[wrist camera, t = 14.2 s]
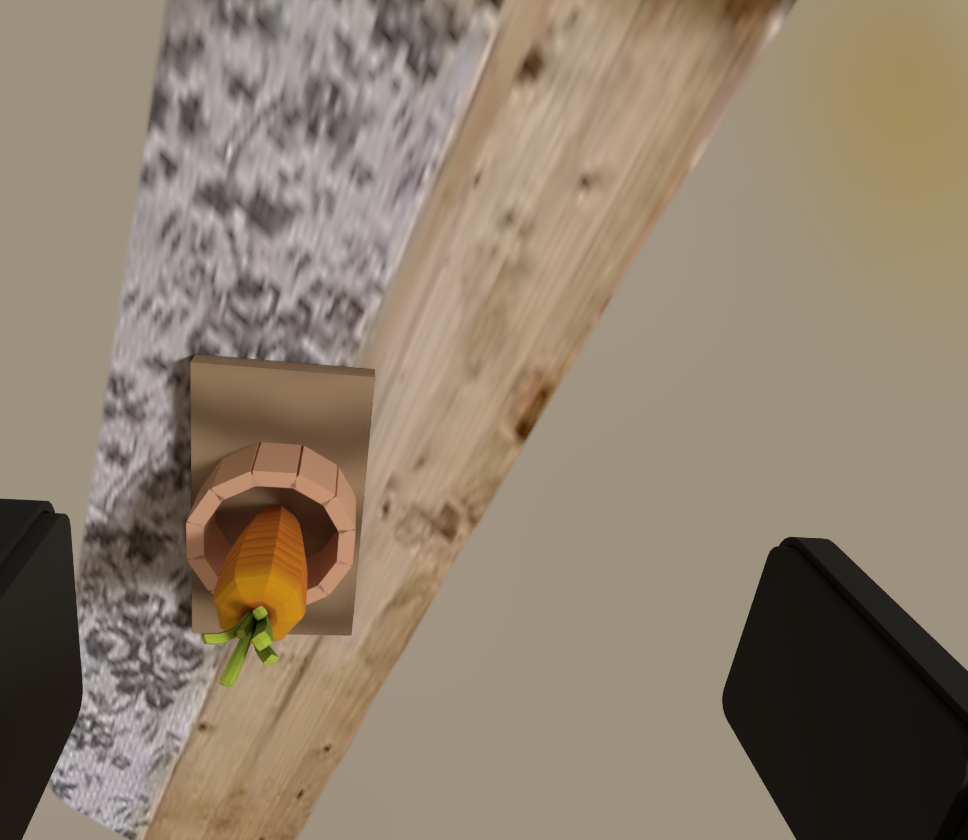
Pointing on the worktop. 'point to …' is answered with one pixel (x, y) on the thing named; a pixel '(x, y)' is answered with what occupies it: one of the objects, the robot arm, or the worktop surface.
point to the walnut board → (286, 420)
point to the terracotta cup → (275, 470)
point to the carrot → (261, 588)
